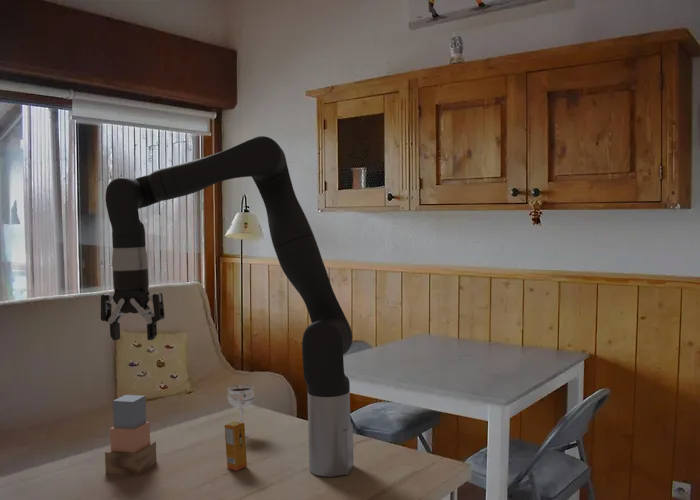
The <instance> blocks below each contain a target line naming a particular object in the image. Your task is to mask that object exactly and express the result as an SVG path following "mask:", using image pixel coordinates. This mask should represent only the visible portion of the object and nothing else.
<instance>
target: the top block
mask: <svg viewBox="0 0 700 500" xmlns="http://www.w3.org/2000/svg"><path fill="white" fill-rule="evenodd" d="M150 427H151V426H150V421H146V422H145V423H143V424H142V425H140V426H138V427H136V428H135V429H128V428H114V426H112V427H110V430H109V435H110V449H111V451H120V452H131V453H135V452H137V451H139V450H140V449H142V448H144V447H145V446H147V445H149V444H150V441H151V431H150V430H151V429H150Z"/></svg>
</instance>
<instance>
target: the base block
mask: <svg viewBox="0 0 700 500" xmlns="http://www.w3.org/2000/svg"><path fill="white" fill-rule="evenodd" d="M156 463H157V441H156V440H155V441H152V440H150V444H149V445H147V446H145V447H144V448H142V449H140V450H139V451H137V452H135V453H131V452H120V451H111V448H109V449H108V450H106V451H105V452H104V464H105V466H104V467H105V474H106V475H122V476H124V475H125V476H141V475H142V474H143V473H145V472H146V471H147V470H148V469H150V468H151V467H152V466H153V465H155V464H156Z"/></svg>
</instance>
